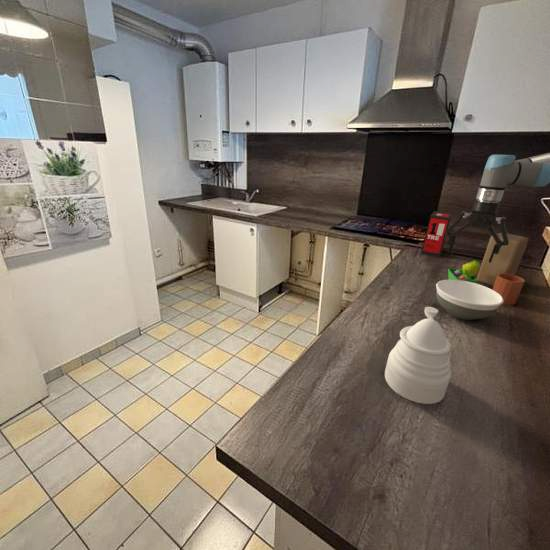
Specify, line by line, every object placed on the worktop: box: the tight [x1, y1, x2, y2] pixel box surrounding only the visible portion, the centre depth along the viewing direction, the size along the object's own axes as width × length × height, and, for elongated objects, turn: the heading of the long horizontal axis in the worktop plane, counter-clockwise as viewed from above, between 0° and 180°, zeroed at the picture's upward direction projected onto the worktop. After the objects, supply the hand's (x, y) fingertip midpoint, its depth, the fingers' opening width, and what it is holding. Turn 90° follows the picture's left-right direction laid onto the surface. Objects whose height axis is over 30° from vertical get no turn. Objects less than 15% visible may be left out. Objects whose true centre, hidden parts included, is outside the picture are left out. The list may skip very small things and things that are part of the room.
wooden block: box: [476, 232, 529, 287], centre depth 118 cm, size 10×10×20 cm
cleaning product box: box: [420, 210, 454, 258], centre depth 154 cm, size 16×9×20 cm, turn 147°
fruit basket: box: [447, 259, 481, 284], centre depth 115 cm, size 11×9×11 cm
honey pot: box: [384, 306, 452, 405], centre depth 63 cm, size 13×13×18 cm
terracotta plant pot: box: [491, 273, 526, 306], centre depth 105 cm, size 8×8×9 cm
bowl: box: [435, 279, 503, 321], centre depth 95 cm, size 19×19×8 cm
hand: (469, 257), depth 112 cm, fingers open, 13 cm apart
